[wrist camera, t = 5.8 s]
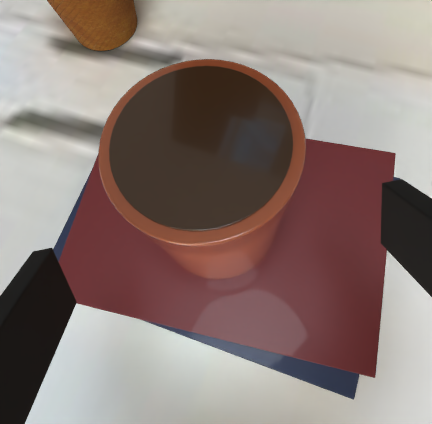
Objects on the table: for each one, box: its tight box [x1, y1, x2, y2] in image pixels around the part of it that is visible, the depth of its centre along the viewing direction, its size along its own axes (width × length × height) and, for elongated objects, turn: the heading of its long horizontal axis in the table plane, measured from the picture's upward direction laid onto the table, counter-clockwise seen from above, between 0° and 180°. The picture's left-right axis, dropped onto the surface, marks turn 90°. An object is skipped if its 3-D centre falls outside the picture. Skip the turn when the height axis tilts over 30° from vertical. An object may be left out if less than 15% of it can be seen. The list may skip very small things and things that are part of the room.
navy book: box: [53, 169, 400, 399], centre depth 26 cm, size 22×15×3 cm
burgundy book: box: [59, 139, 396, 378], centre depth 24 cm, size 20×14×2 cm
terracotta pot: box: [99, 59, 306, 279], centre depth 18 cm, size 8×8×10 cm
